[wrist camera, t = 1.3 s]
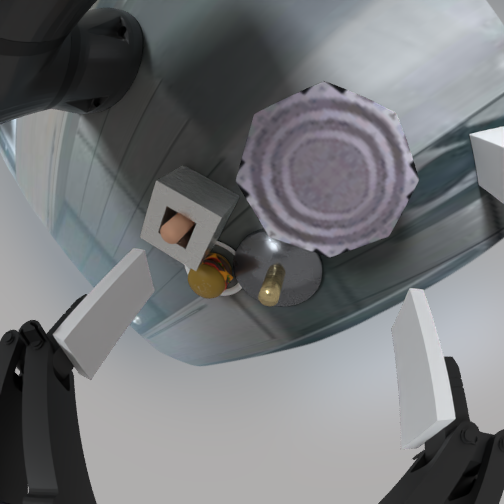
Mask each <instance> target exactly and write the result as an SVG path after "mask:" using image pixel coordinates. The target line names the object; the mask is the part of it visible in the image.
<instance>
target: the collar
mask: <svg viewBox="0 0 504 504" xmlns="http://www.w3.org/2000/svg"><path fill="white" fill-rule="evenodd" d="M239 197H240V196H239V195H237V194H235V193H234V192H232V191H230V190H228V189H226V188H225V187H223V186H221V185H219V184H217V183H216V182H214V181H212V180H210V179H208V178H206V177H205V176H203V175H201V174H199V173H197V172H195V171H194V170H192V169H190V168H188V167H186V166H184V165H183V166H181V167H180V168H178V169H176V170H174V171H172V172H170V173H169V174H167V175H165V176H163V177H161V178H160V179H158V180H156V183H155V186H154V189H153V192H152V196H151V199H150V202H149V206H148V209H147V213H146V217H145V220H144V224H143V228H142V232H141V236H140V238H142V239H144V240H145V241H147V242H148V243H150V244H152V245H153V246H155V247H156V248H158V249H160V250H161V251H163V252H165V253H166V254H168V255H169V256H171V257H173V258H174V259H176V260H178V261H179V262H181V263H183V264H184V265H186V266H188V267H189V268H191V269H193V270H195V271H197V269H198V268H199V266H200V265H201V264H202V262H203V261H204V260H205V258H206V257H207V255H208V254H209V253H210V251H211V250H212V249H213V247H214V246H215V244H216V241H217V240H218V238H219V236H220V234H221V232H222V230H223V228H224V226H225V224H226V222H227V220H228V218H229V217H230V215H231V213H232V211H233V209H234V207H235V205H236V203H237V201H238V199H239ZM177 213H180V214H181V215H183V216H185V217H187V218H188V219H190V220H192V221H194V222H195V224H194V225H193V226H192V227H191V228H190V229H189V231H188V232H187V233H186V234H185V235H184V236H183V237H182V238H181V239H180V240H179V241H178V242H177V243H175V244H169V243H167V242H165V241H164V240H163V238H162V237H161V234H160V229H161V227H162V226H163V225H164V224H165V223H166V222H168V221H169V220H170V219H171V218H172V217H173V216H175V215H176V214H177Z"/></svg>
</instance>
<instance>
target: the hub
mask: <svg viewBox="0 0 504 504" xmlns="http://www.w3.org/2000/svg"><path fill="white" fill-rule="evenodd" d="M233 269H234V274H235V277H236V279H237V281H238V283H239V284H240V286H241V287H242V288H243V289H244V290H245V291H246V292H247V293H248V294H249V295H250V296H252V297H253V298H255V299H256V300H258V301H260V302H261V303H262V304H263V305H266V306H292V305H296V304H299V303H302V302H304V301H305V300H307V299H308V298H310V297H311V296H312V295H313V294H314V293H315V292H316V290H317V289H318V287H319V285H320V282H321V278H322V261H321V258H320V255H319V254H318V253H315V252H312V251H309V250H306V249H303V248H300V247H297V246H294V245H292V244H289V243H286V242H283V241H280V240H277V239H274V238H271V237H269V236H268V234H267V232H266V231H265V229H260V230H257V231H255V232H253V233H251V234H250V235H248V236H247V237H246V238H245V239H244V240H243V241H242V242H241V244H240V245H239V247H238V249H237V251H236V253H235V256H234V260H233Z"/></svg>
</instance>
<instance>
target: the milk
mask: <svg viewBox="0 0 504 504" xmlns="http://www.w3.org/2000/svg"><path fill="white" fill-rule="evenodd" d="M469 136H470V140H471V144H472V149H473V154H474V159H475V165H476V171H477V177H478V184H479V186H481V187H482V188H483V189H485V190H486V191H488V192H489V193H490V194H491V195H493V196H494V197H495V198H497V199H498V200H499V201H500V202H502V203H503V204H504V126H503V127H498V128H494V129H489V130H485V131H481V132H476V133H472V134H469Z"/></svg>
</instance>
